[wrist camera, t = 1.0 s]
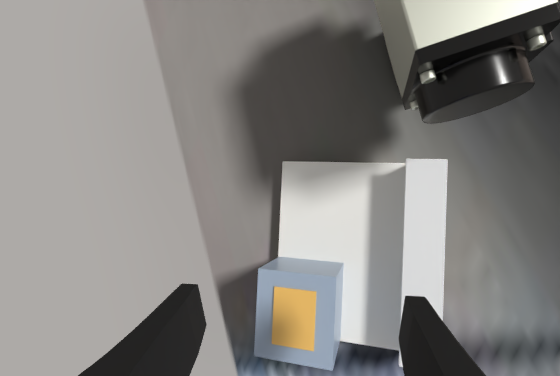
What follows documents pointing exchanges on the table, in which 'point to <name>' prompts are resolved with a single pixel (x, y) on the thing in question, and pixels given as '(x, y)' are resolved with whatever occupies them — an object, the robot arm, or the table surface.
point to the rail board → (370, 236)
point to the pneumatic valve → (464, 51)
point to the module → (299, 311)
